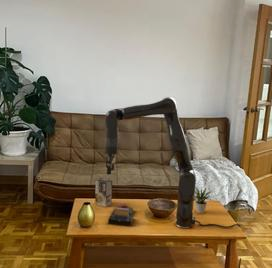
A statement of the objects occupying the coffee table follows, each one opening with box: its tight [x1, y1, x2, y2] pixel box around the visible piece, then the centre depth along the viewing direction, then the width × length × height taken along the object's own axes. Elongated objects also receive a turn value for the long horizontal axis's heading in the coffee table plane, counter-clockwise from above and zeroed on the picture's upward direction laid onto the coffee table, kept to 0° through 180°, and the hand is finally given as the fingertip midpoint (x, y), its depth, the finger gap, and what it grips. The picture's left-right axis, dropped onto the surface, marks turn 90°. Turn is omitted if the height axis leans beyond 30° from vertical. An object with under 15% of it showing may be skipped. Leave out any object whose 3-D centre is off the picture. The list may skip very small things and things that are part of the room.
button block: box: [112, 204, 134, 215], centre depth 223 cm, size 11×9×4 cm
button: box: [120, 203, 128, 208], centre depth 222 cm, size 4×4×2 cm
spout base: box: [107, 212, 135, 227], centre depth 210 cm, size 13×12×3 cm
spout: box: [113, 206, 129, 218], centre depth 209 cm, size 8×2×5 cm, turn 84°
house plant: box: [194, 186, 212, 214], centre depth 229 cm, size 14×14×16 cm
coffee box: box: [94, 177, 113, 208], centre depth 234 cm, size 9×6×16 cm
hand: (110, 172), depth 209 cm, fingers open, 8 cm apart
